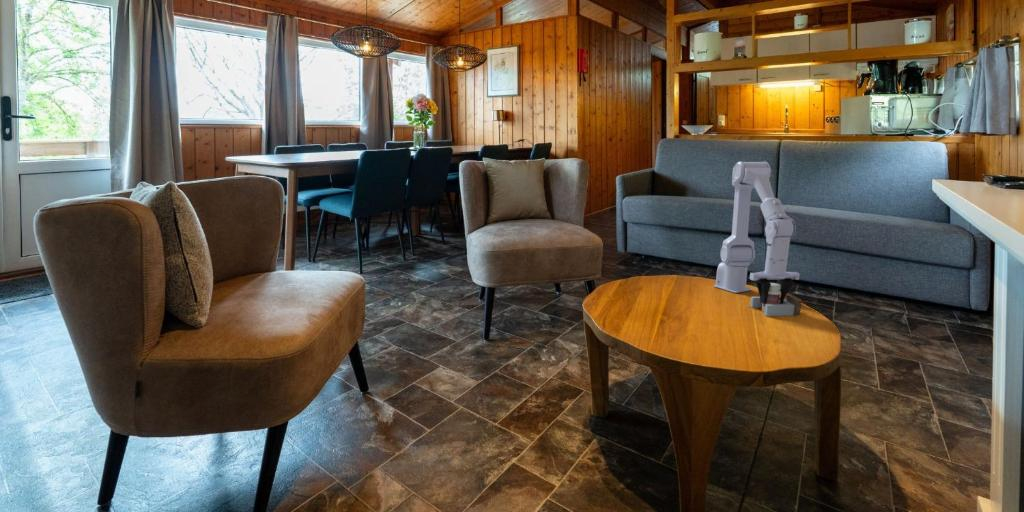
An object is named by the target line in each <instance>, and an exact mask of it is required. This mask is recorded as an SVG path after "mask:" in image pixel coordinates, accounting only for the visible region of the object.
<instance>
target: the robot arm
mask: <svg viewBox="0 0 1024 512" xmlns="http://www.w3.org/2000/svg"><path fill="white" fill-rule="evenodd" d="M771 173H772V169H771V166H770V163H769V162H767V161H738V162H736V163H735V165H734V166H733V168H732V175H731V185H732V186H733V187H734V200H733V201H734V202H733V212H732V225H731V226H732V227H731V235H730V236H729V237H727V238H726V239H723V241H722V244H721V248H720V251H719V253H720V259H721V262H719V264H718V266H717V269H716V277H715V278H716V279H715V284H714V285H713V287H715V288H718V289H721V290H724V291H727V292H731V293H734V294H737V293H743V292H748V291H752V288H751V287H750V288H749V287H747V278H748V277H747V276H748V268H749V266H751V264H752V263H753V262H754V260H755V257H756V251H755V242H754V241H753V240H752V239H751V238H749V223H750V212H751V211H750V210H751V202H752V201H751V200H752V199H751V198H752V197H751V196H752V190H753V189H755V191H756V193H757V195H758V196H759V198H760V200H761V202H762V203H761V204H760V211H761V212H762V215H763V219H764V220H765V222H766V224H765V225H766V226H765V227H764V232H765V237H766V239H765V241H766V243H767V247H766V248H767V249H766V255H765V256H766V257H765V264H764V270H763V271H758V272H749V273H750V274H749V280H751V281H752V282H753V281H754V283H755V286H756V288H757V292H758V295H759V296H758V297H760V302H761V303H763V304H766V302H767V296H768V291H769V288H770V286H771V283H772V282H769V280H770V281H772V280H775V281H776V284H779V285H781V289H780V290H779V291H781V300H780V303H783V301H784V298H785V296H786V294H787V293H789V291H790V289H791V288H792V287H793V286H794V284H795V281H796V280H797V281H798V280H800V273H799V272H796V271H787V266H788V259H789V258H788V257H789V250H790V243H791V239H792V238H793V237H794V236H795V234H796V230H797V227H796V226H797V224H796V222H795V219H793V218H792V217H790V215H787V213H786V211H785V208H784V206H783V204H782V201H781V200H780V199H779V198H777V197H775V195H774V192H773V189H772V185H771V182H770V177H771ZM793 280H795V281H793Z"/></svg>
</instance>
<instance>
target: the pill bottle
mask: <svg viewBox="0 0 1024 512" xmlns="http://www.w3.org/2000/svg"><path fill="white" fill-rule="evenodd" d="M770 283H771V286H770V288H769V291H768V296H767V302H766V304H780V300H781V291H779V290H780V289H781V285H779V284H777V282H776V283H775V282H770ZM761 310H762V312H764V311H765V304H763V303H762V308H761Z"/></svg>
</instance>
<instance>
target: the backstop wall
mask: <svg viewBox="0 0 1024 512" xmlns="http://www.w3.org/2000/svg"><path fill="white" fill-rule="evenodd" d="M784 300H786V301H788V302H790V303H792V304H794V305H795V309H794V315H793V316H794V317H798V316H797V315H801V310H802V309H801V307H802V301H803V300H802V298H799V297H797V296H795V295H793V294H790V293H789V292H787V294H786V296H785V298H784Z"/></svg>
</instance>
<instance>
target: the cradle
mask: <svg viewBox="0 0 1024 512" xmlns="http://www.w3.org/2000/svg"><path fill="white" fill-rule="evenodd" d="M749 306H750V307H749V308H751V309H758V308H759V309H760V308H761V309H762V303H761V302H760V296H751V298H750V305H749ZM794 309H795V305H794V304H792V303H790V302H788V301H786V300H784V301H783V303H780V304H765V311H763V312H764V313H763V315H764V316H765V317H777V316H780V317H785V316H794Z"/></svg>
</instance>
